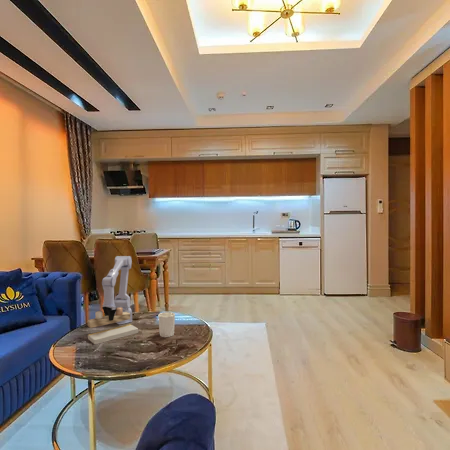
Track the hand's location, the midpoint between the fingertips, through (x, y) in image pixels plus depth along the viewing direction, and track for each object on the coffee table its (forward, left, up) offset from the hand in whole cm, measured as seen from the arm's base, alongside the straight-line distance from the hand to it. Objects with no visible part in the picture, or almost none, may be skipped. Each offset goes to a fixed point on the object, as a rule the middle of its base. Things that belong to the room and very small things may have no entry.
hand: (109, 319), depth 191 cm
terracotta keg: (-6, 0, +2) cm, 6 cm away
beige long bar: (0, 0, -2) cm, 2 cm away
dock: (0, +6, -8) cm, 10 cm away
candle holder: (-24, +26, -9) cm, 36 cm away
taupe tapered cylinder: (+6, 0, +2) cm, 6 cm away
